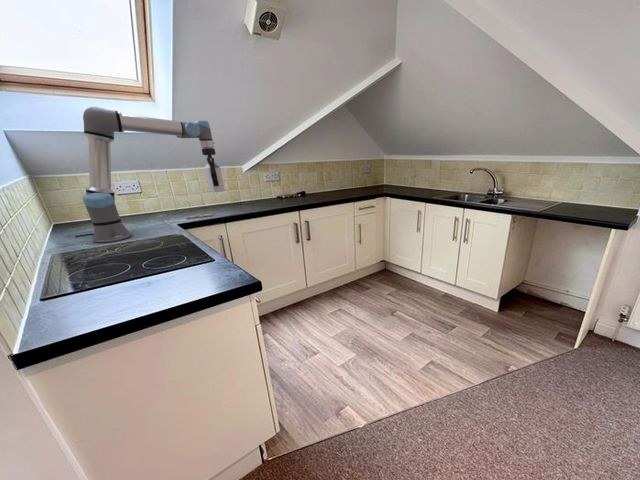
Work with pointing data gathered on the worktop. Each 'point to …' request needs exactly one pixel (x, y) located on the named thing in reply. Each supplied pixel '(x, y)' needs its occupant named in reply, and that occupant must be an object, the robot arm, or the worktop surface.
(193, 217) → the wooden spoon
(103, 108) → the robot arm
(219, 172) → the milk carton
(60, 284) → the worktop surface
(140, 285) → the worktop surface
